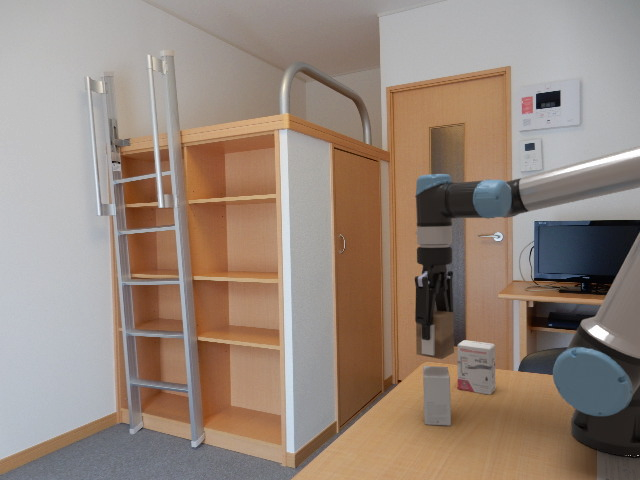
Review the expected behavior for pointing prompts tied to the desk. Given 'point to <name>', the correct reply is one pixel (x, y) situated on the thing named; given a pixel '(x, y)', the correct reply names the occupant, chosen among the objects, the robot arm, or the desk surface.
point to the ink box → (476, 366)
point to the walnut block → (439, 335)
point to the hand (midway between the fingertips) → (435, 350)
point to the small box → (436, 395)
